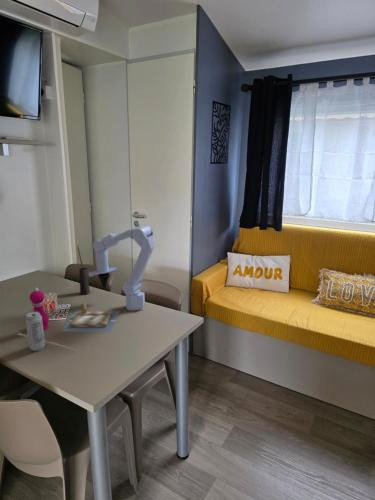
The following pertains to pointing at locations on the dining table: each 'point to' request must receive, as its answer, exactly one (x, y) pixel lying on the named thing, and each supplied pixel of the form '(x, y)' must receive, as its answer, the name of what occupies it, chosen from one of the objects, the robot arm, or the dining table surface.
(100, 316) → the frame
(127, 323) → the dining table surface
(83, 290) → the butter churn
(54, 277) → the dining table surface
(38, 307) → the pepper mill
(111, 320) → the board
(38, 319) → the energy drink can
